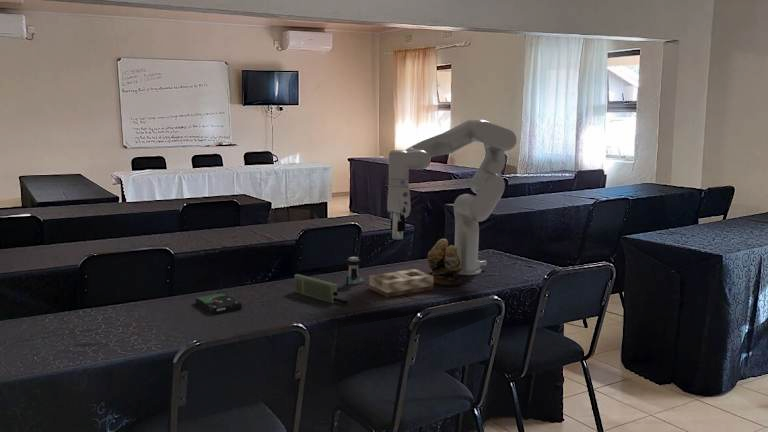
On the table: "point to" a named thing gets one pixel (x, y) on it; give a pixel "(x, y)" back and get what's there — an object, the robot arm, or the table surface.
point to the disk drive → (218, 303)
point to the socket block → (401, 282)
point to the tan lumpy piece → (444, 264)
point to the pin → (395, 233)
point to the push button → (353, 271)
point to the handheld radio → (317, 289)
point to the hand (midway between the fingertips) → (397, 229)
